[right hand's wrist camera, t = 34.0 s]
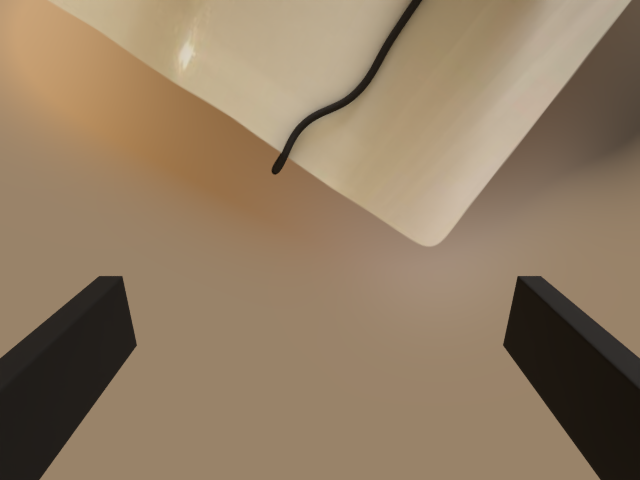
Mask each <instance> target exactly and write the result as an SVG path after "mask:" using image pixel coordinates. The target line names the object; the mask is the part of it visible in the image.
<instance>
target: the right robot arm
mask: <svg viewBox="0 0 640 480" xmlns="http://www.w3.org/2000/svg"><path fill="white" fill-rule="evenodd" d="M421 1H422V0H412V2H411V3H410V5H409V6H408V8H407V9H406V11H405V12H404V13H403V15H402V16H401V18H400V20H399V21H398V23H397V24H396V26H395V27H394V29H393V30H392V32H391V33H390V35H389V36H388V38H387V39H386V41H385V43H384V44H383V46H382V48H381V50H380V52H379V53H378V55H377V57H376V59H375V61H374V63H373V65H372V66H371V68H370V70H369V71H368V73H367V75H366V76H365V78H364V79H363V80H362V82H361V83H360V84H359V85H358V86H357V87H356V88H355V89H354V90H353V91H352V92H351V93H350V94H349V95H348V96H346V97H345V98H343V99H342V100H340V101H338V102H336V103H334V104H331V105H329V106H327V107H325V108H322V109H320V110H318V111H316V112H314V113H312V114H311V115H309V116H308V117H306V118H305V119H304V120H303V121H302V122H301V123H300V124H299V125H298V126H297V127H296V128H295V129H294V131H293V132H292V134H291V135H290V137H289V139H288V141H287V143H286V145H285V147H284V149H283V152H282V153H280V155H279V157H278V158H277V160H276V161H275V163H274V165H273V167H272V170H271V171H272V174H274V175H276V174H278V173H279V172H280V170H281V169H282V167H283V166H284V164H285V162H286V160H287V157H288V155H289V153H290V151H291V148H292V146H293V144H294V142H295V141H296V139H297V137H298V136H299V134H300V133H301V132H302V131H303V130H304V129H305V128H306V127H307V126H308V125H309V124H310V123H312V122H313V121H315V120H316V119H318V118H320V117H322V116H325V115H327V114H329V113H332V112H334V111H336V110H338V109H340V108H342V107H344V106H346V105H347V104H349V103H350V102H352V101H353V100H354V99H355V98H357V97H358V96H359V95H360V94H361V93H362V92H363V91H364V89H365V88H366V87H367V86H368V84H369V83H370V82H371V80H372V79H373V77H374V76H375V74H376V73H377V71H378V69H379V67H380V65H381V64H382V62H383V60H384V58H385V56H386V54H387V53H388V51H389V49H390V47H391V46H392V44H393V42H394V41H395V39H396V38H397V36H398V35H399V33H400V32H401V30H402V29H403V27H404V26H405V24H406V23H407V21H408V20H409V18H410V17H411V15H412V14H413V13H414V11H415V10H416V8H417V7H418V5H419V4H420V2H421ZM136 346H137V344H136V339H135V334H134V329H133V325H132V320H131V315H130V310H129V306H128V301H127V297H126V291H125V287H124V282H123V278H122V276H99V277H98V278H96V279H95V280H94V281H93V282H92V283H91V284H89V285H88V286H87V287H86V288H84V289H83V290H82V291H81V292H80V293H78V294H77V295H76V296H75V297H74V298H72V299H71V300H70V301H69V302H68V303H66V304H65V305H64V306H63V307H62V308H60V309H59V310H58V311H57V312H56V313H54V314H53V315H52V316H51V317H50V318H48V319H47V320H46V321H45V322H44V323H42V324H41V325H40V326H39V327H38V328H36V329H35V330H34V331H33V332H32V333H30V334H29V335H28V336H27V337H26V338H24V339H23V340H22V341H21V342H19V343H18V344H17V345H16V346H15V347H13V348H12V349H11V350H10V351H9V352H7V353H6V354H5V355H4V356H3V357H1V358H0V480H39V479H40V478H41V477H42V475H43V474H44V473H45V471H46V470H47V468H48V467H49V466H50V464H51V463H52V461H53V460H54V459H55V457H56V456H57V455H58V453H59V452H60V451H61V449H62V448H63V446H64V445H65V444H66V442H67V441H68V439H69V438H70V437H71V435H72V434H73V433H74V431H75V430H76V428H77V427H78V426H79V424H80V423H81V422H82V420H83V419H84V417H85V416H86V415H87V413H88V412H89V411H90V409H91V408H92V406H93V405H94V404H95V402H96V401H97V399H98V398H99V397H100V395H101V394H102V393H103V391H104V390H105V388H106V387H107V386H108V384H109V383H110V382H111V380H112V379H113V377H114V376H115V375H116V373H117V372H118V370H119V369H120V368H121V366H122V365H123V364H124V362H125V361H126V359H127V358H128V357H129V355H130V354H131V353H132V351H133V350H134V348H135V347H136ZM503 346H504V347H505V348H506V350H507V351H508V353H509V354H510V355H511V357H512V358H513V360H514V361H515V362H516V364H517V365H518V366H519V368H520V369H521V371H522V372H523V373H524V375H525V376H526V377H527V379H528V380H529V382H530V383H531V384H532V386H533V387H534V388H535V390H536V391H537V393H538V394H539V395H540V397H541V398H542V400H543V401H544V402H545V404H546V405H547V406H548V408H549V409H550V411H551V412H552V413H553V415H554V416H555V417H556V419H557V420H558V422H559V423H560V424H561V426H562V427H563V428H564V430H565V431H566V433H567V434H568V435H569V437H570V438H571V439H572V441H573V442H574V444H575V445H576V446H577V448H578V449H579V451H580V452H581V453H582V455H583V456H584V457H585V459H586V460H587V461H588V463H589V464H590V466H591V467H592V468H593V470H594V471H595V473H596V474H597V475H598V477H599V478H600V479H601V480H640V358H639V357H637V356H636V355H635V354H634V353H633V352H631V351H630V350H629V349H628V348H627V347H625V346H624V345H623V344H622V343H620V342H619V341H618V340H617V339H616V338H614V337H613V336H612V335H611V334H610V333H609V332H607V331H606V330H605V329H604V328H602V327H601V326H600V325H599V324H598V323H596V322H595V321H594V320H593V319H592V318H590V317H589V316H588V315H587V314H586V313H584V312H583V311H582V310H581V309H580V308H578V307H577V306H576V305H575V304H574V303H572V302H571V301H570V300H569V299H568V298H566V297H565V296H564V295H563V294H562V293H560V292H559V291H558V290H557V289H556V288H554V287H553V286H552V285H551V284H549V283H548V282H547V281H546V280H545V279H543V278H542V277H541V276H518V277H517V282H516V287H515V292H514V296H513V301H512V306H511V310H510V315H509V320H508V325H507V329H506V334H505V339H504V344H503Z"/></svg>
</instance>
